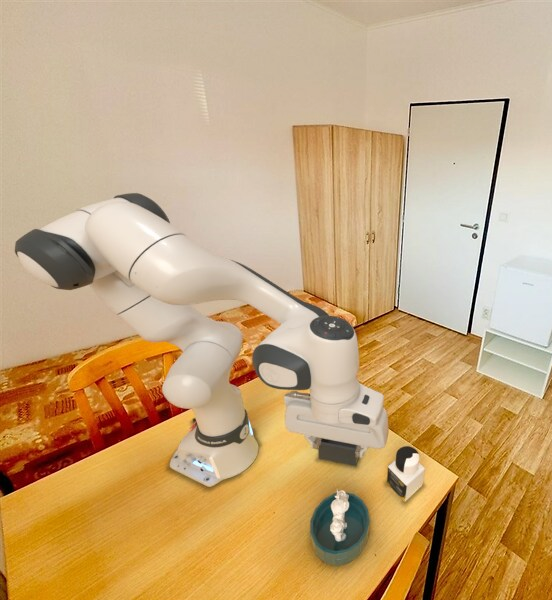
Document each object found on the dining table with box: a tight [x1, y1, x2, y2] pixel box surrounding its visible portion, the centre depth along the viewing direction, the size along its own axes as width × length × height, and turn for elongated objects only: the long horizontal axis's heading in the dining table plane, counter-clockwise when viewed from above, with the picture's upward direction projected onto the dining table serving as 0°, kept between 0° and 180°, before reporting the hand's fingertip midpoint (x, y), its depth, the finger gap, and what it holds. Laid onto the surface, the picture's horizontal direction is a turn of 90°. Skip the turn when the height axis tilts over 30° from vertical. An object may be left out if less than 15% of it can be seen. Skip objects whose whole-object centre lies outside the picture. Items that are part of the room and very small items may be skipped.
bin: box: [317, 438, 360, 467], centre depth 94 cm, size 11×11×7 cm
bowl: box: [309, 491, 371, 567], centre depth 73 cm, size 13×13×5 cm
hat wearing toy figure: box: [330, 489, 349, 542], centre depth 72 cm, size 9×4×12 cm, turn 179°
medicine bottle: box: [386, 445, 426, 503], centre depth 84 cm, size 7×7×12 cm
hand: (337, 450), depth 65 cm, fingers open, 8 cm apart
